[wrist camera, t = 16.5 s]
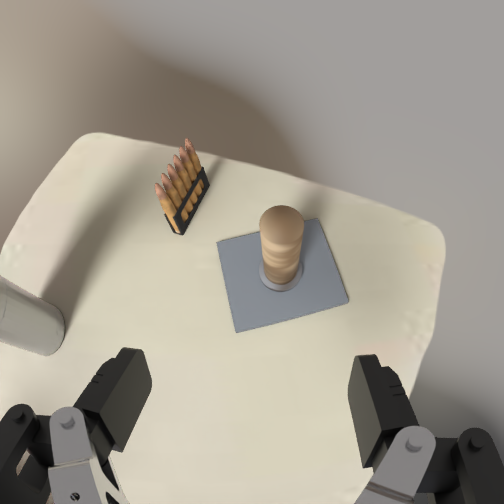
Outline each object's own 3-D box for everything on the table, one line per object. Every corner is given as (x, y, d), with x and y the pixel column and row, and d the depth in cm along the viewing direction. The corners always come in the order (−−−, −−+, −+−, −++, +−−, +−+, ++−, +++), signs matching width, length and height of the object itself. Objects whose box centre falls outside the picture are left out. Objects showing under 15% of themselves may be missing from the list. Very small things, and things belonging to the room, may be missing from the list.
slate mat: (236, 333, 39) (235, 332, 39) (217, 244, 45) (216, 242, 45) (347, 303, 40) (348, 301, 39) (316, 220, 46) (317, 218, 45)
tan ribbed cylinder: (265, 296, 41) (260, 256, 29) (255, 258, 43) (246, 207, 32) (306, 285, 41) (318, 241, 29) (294, 248, 43) (300, 195, 32)
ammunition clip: (182, 236, 47) (158, 190, 36) (173, 233, 47) (146, 187, 36) (209, 184, 51) (194, 134, 40) (200, 182, 51) (184, 133, 41)
